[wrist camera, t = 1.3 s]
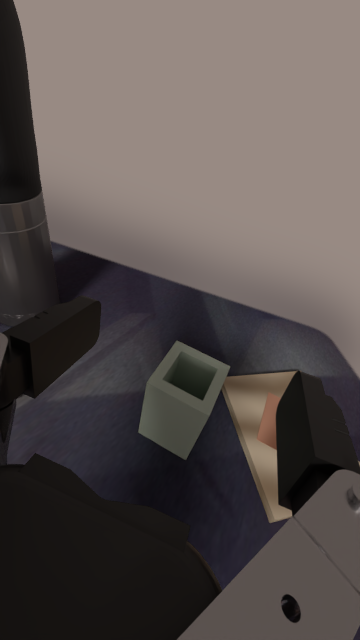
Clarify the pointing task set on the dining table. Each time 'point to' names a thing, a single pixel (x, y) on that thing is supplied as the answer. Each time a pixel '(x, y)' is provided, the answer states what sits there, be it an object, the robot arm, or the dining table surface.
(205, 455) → the dining table surface
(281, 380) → the post board
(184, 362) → the sleeve
